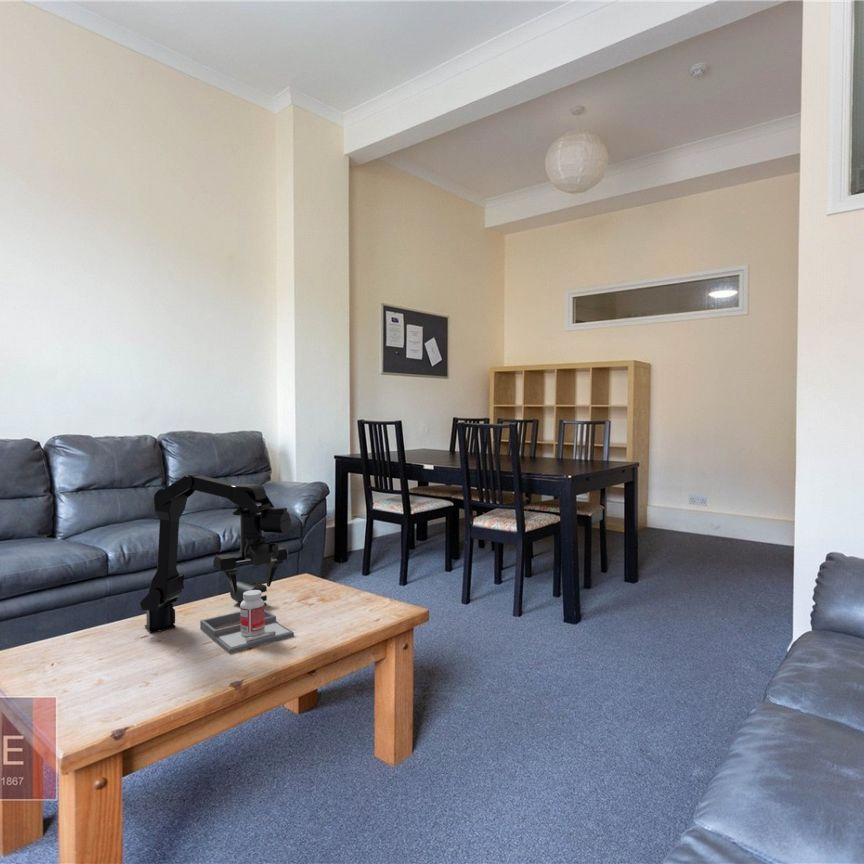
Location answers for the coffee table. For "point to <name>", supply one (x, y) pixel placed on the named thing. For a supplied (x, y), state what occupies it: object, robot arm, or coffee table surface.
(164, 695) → the coffee table surface
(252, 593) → the pill bottle
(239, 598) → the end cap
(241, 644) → the case lid
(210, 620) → the case
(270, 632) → the stay rod
